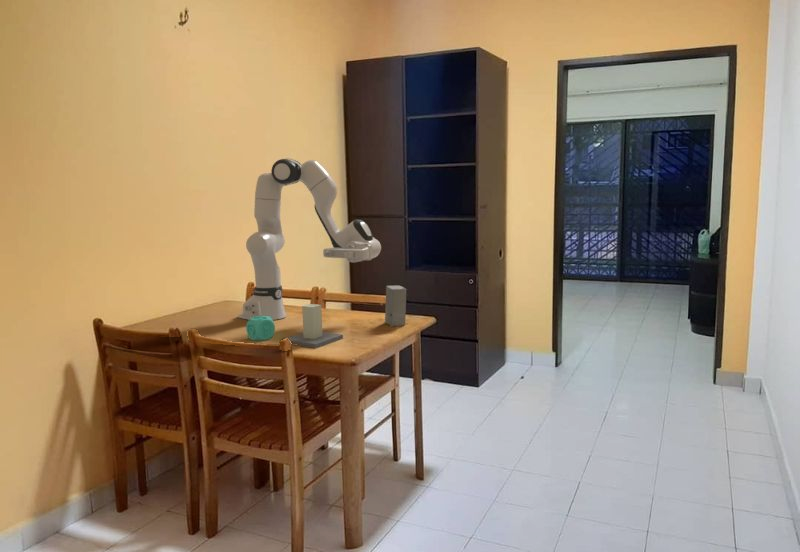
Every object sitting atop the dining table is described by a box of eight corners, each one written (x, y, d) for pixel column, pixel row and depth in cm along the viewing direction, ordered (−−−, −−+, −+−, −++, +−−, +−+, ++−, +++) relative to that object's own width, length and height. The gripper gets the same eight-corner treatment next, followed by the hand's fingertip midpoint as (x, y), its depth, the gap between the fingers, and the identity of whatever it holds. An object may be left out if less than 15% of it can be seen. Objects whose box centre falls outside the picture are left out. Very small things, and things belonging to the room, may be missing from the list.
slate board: (282, 343, 228) (282, 339, 228) (310, 333, 242) (310, 330, 241) (316, 348, 220) (315, 344, 220) (343, 338, 233) (342, 334, 233)
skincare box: (384, 322, 258) (383, 285, 256) (400, 321, 261) (399, 284, 259) (391, 326, 251) (390, 288, 248) (407, 325, 253) (406, 287, 251)
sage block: (303, 337, 230) (302, 306, 228) (312, 334, 234) (310, 303, 232) (313, 338, 227) (312, 307, 225) (322, 336, 231) (321, 304, 230)
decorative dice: (264, 334, 242) (263, 314, 241) (275, 337, 237) (274, 317, 235) (246, 338, 237) (245, 318, 236) (257, 341, 231) (256, 321, 230)
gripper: (334, 243, 263) (314, 246, 252) (374, 244, 253) (354, 248, 241) (335, 258, 264) (314, 261, 253) (374, 260, 253) (354, 264, 242)
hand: (334, 255), depth 247 cm, fingers open, 8 cm apart
